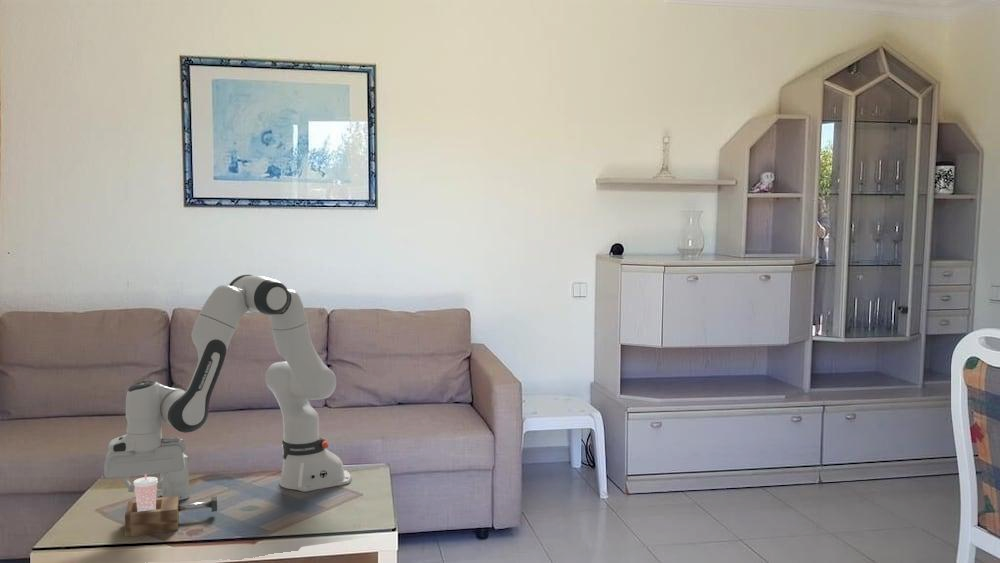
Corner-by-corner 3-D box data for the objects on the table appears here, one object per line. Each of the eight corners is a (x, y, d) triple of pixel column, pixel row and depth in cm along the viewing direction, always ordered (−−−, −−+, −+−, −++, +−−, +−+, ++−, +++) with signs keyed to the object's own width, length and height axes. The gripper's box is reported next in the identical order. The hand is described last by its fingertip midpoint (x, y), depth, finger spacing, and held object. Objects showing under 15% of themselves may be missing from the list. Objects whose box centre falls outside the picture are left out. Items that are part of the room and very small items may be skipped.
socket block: (179, 515, 225) (178, 495, 225) (177, 530, 215) (177, 509, 215) (129, 521, 221) (128, 501, 220) (125, 537, 211) (124, 515, 210)
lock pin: (216, 507, 227) (216, 496, 227) (217, 511, 224) (216, 500, 224) (169, 512, 223) (168, 501, 222) (168, 516, 220) (168, 505, 219)
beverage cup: (159, 514, 215) (157, 464, 214) (134, 517, 213) (133, 467, 212) (158, 506, 221) (156, 458, 220) (134, 510, 218) (132, 460, 217)
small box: (190, 498, 239) (188, 456, 238) (168, 503, 235) (167, 460, 234) (181, 490, 245) (180, 450, 244) (160, 495, 241) (158, 454, 240)
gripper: (185, 433, 222) (186, 481, 223) (104, 440, 215) (106, 490, 216) (184, 440, 216) (186, 488, 217) (102, 447, 209) (104, 497, 210)
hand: (146, 489), depth 216 cm, fingers closed on beverage cup, 6 cm apart
